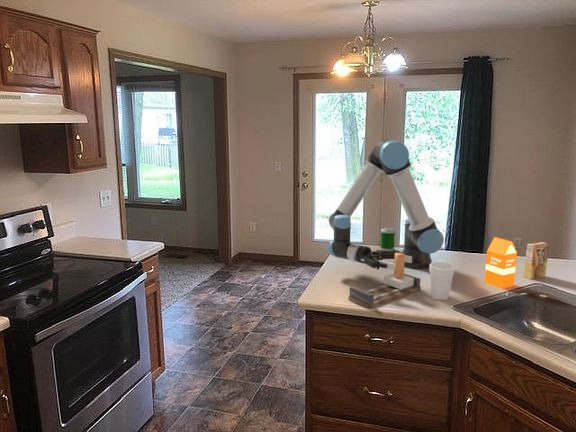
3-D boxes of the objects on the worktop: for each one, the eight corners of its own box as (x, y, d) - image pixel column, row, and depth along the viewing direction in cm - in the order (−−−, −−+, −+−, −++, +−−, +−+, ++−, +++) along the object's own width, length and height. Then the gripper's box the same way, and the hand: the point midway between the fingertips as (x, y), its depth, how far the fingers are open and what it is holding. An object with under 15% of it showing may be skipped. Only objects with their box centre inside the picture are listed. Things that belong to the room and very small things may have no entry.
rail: (399, 282, 201) (400, 271, 200) (420, 289, 192) (421, 278, 191) (348, 299, 183) (348, 287, 182) (368, 308, 174) (369, 296, 173)
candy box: (537, 274, 210) (541, 241, 207) (545, 277, 206) (549, 244, 203) (523, 276, 207) (526, 243, 204) (530, 279, 203) (534, 246, 200)
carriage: (396, 279, 197) (397, 250, 195) (413, 285, 190) (414, 254, 188) (383, 283, 193) (384, 253, 190) (400, 289, 186) (402, 258, 183)
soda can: (394, 252, 246) (395, 230, 244) (380, 251, 248) (380, 230, 245) (394, 248, 254) (395, 227, 251) (380, 247, 255) (380, 226, 253)
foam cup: (424, 292, 189) (426, 262, 186) (446, 291, 190) (448, 261, 187) (433, 301, 180) (435, 270, 177) (456, 300, 181) (458, 269, 178)
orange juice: (501, 288, 193) (505, 242, 188) (484, 282, 200) (487, 237, 196) (514, 285, 196) (518, 240, 192) (496, 279, 204) (500, 235, 200)
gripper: (374, 255, 212) (417, 265, 198) (342, 268, 194) (387, 280, 180) (375, 240, 211) (418, 248, 197) (343, 251, 193) (387, 261, 179)
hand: (403, 263), depth 188 cm, fingers open, 13 cm apart
